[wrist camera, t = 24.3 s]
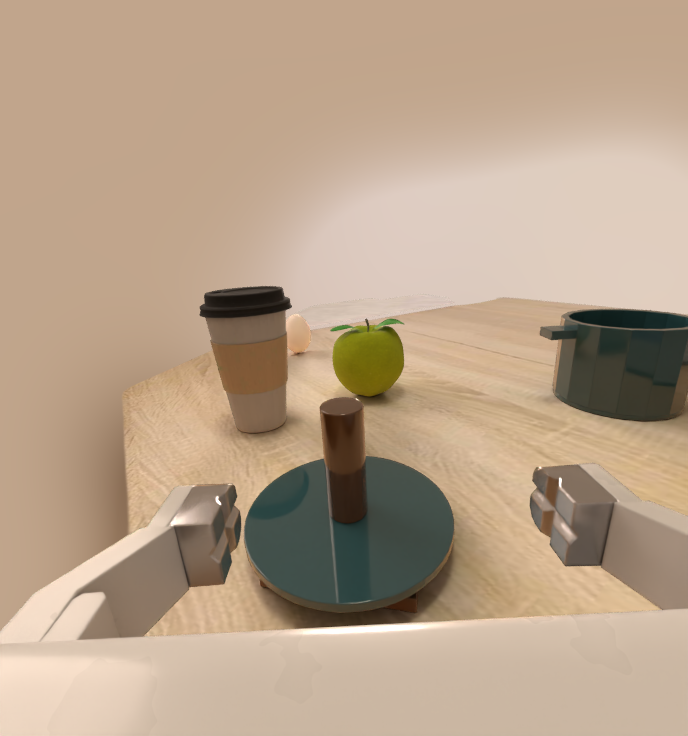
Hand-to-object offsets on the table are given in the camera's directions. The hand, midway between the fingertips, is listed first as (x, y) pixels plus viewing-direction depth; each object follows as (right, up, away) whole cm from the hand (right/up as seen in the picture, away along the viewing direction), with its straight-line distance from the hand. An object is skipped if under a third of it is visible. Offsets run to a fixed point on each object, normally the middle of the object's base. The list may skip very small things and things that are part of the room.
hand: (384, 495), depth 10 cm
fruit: (+2, 0, +39) cm, 39 cm away
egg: (-10, +6, +61) cm, 62 cm away
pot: (+31, 0, +33) cm, 45 cm away
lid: (-1, -6, +14) cm, 16 cm away
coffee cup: (-11, -3, +33) cm, 34 cm away
